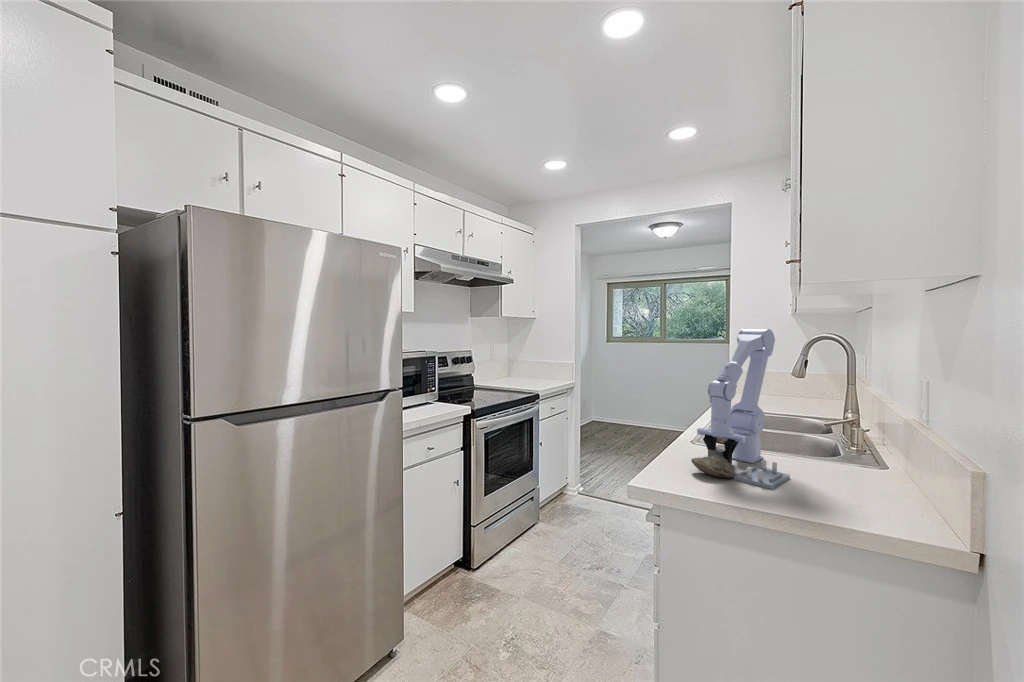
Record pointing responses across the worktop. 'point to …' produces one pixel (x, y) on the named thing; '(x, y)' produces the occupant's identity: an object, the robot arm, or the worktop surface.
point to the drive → (718, 452)
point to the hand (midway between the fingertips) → (720, 460)
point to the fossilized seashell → (714, 466)
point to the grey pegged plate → (762, 476)
